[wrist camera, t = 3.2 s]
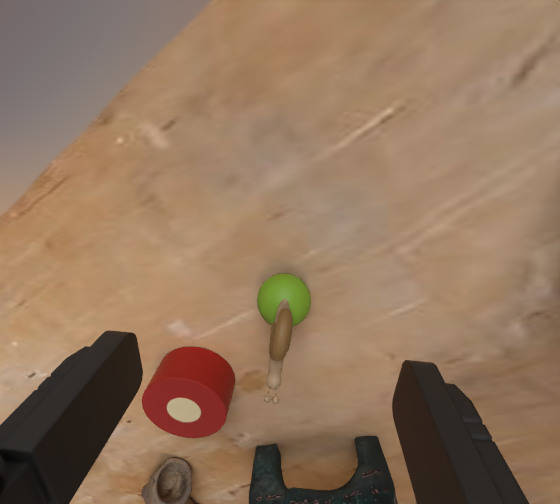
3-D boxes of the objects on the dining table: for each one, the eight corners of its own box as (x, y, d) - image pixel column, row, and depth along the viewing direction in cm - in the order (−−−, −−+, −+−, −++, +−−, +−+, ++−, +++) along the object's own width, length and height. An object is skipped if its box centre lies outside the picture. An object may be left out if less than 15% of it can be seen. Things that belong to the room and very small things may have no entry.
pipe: (183, 553, 51) (228, 555, 46) (111, 502, 45) (153, 498, 41) (200, 507, 56) (241, 504, 52) (137, 456, 51) (177, 448, 46)
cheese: (155, 343, 38) (134, 375, 34) (233, 349, 38) (224, 382, 33) (165, 399, 43) (148, 435, 38) (236, 406, 42) (228, 442, 37)
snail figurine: (257, 310, 35) (236, 399, 24) (263, 260, 32) (243, 336, 22) (304, 317, 35) (304, 410, 24) (314, 268, 32) (319, 347, 22)
